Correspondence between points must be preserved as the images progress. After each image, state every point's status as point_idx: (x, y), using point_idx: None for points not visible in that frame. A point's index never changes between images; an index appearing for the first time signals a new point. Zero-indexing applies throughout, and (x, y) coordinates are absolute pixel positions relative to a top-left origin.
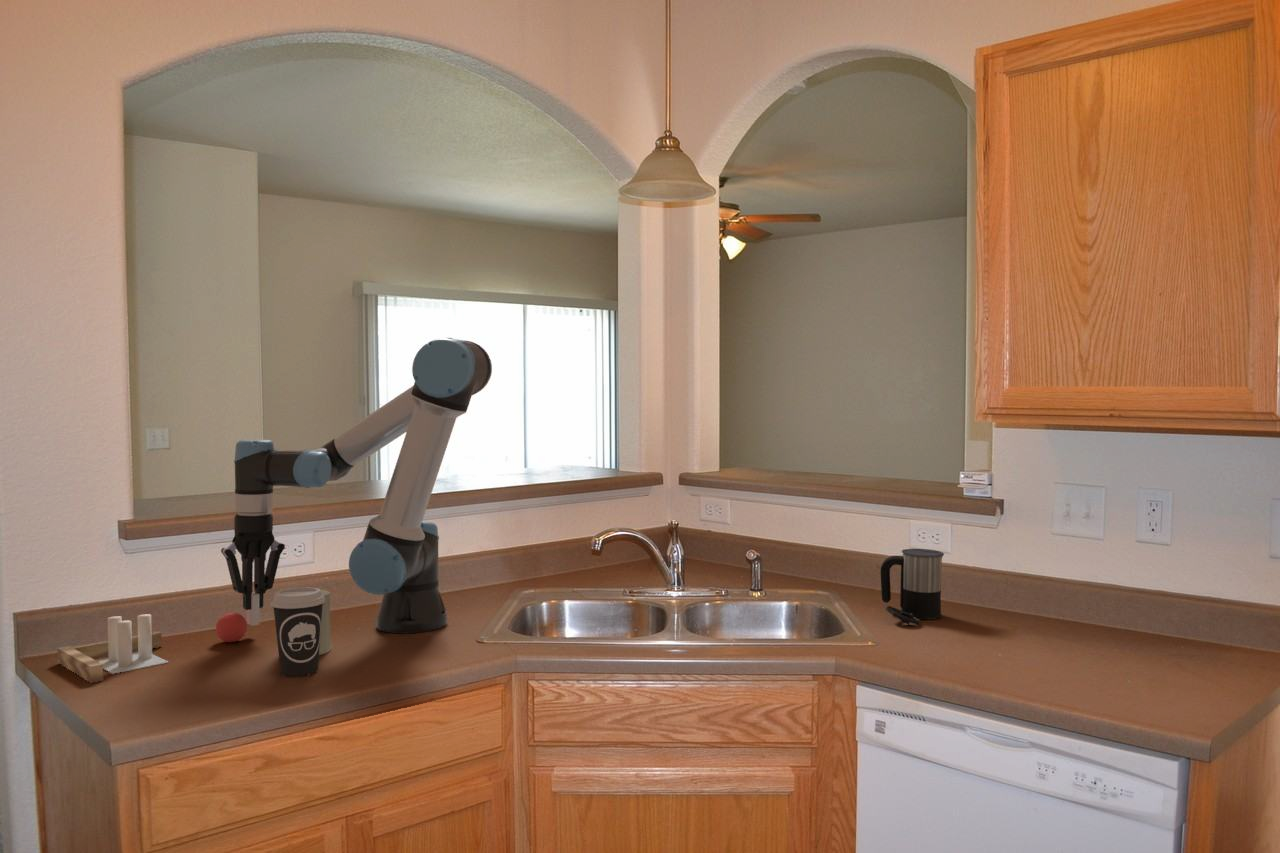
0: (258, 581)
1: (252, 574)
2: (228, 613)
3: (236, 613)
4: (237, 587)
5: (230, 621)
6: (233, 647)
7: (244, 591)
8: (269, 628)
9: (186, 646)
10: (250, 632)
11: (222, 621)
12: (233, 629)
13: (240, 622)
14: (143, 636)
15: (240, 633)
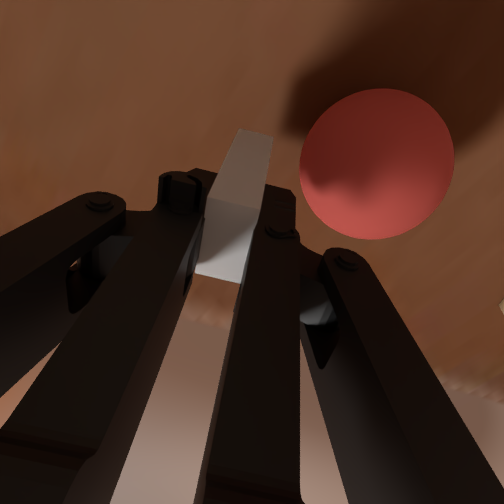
0: (181, 266)
1: (236, 329)
2: (395, 210)
3: (365, 183)
4: (381, 286)
5: (436, 138)
6: (437, 48)
7: (304, 258)
8: (144, 190)
9: (478, 233)
10: None
11: (447, 178)
12: (424, 103)
13: (385, 110)
14: None
15: (380, 88)
